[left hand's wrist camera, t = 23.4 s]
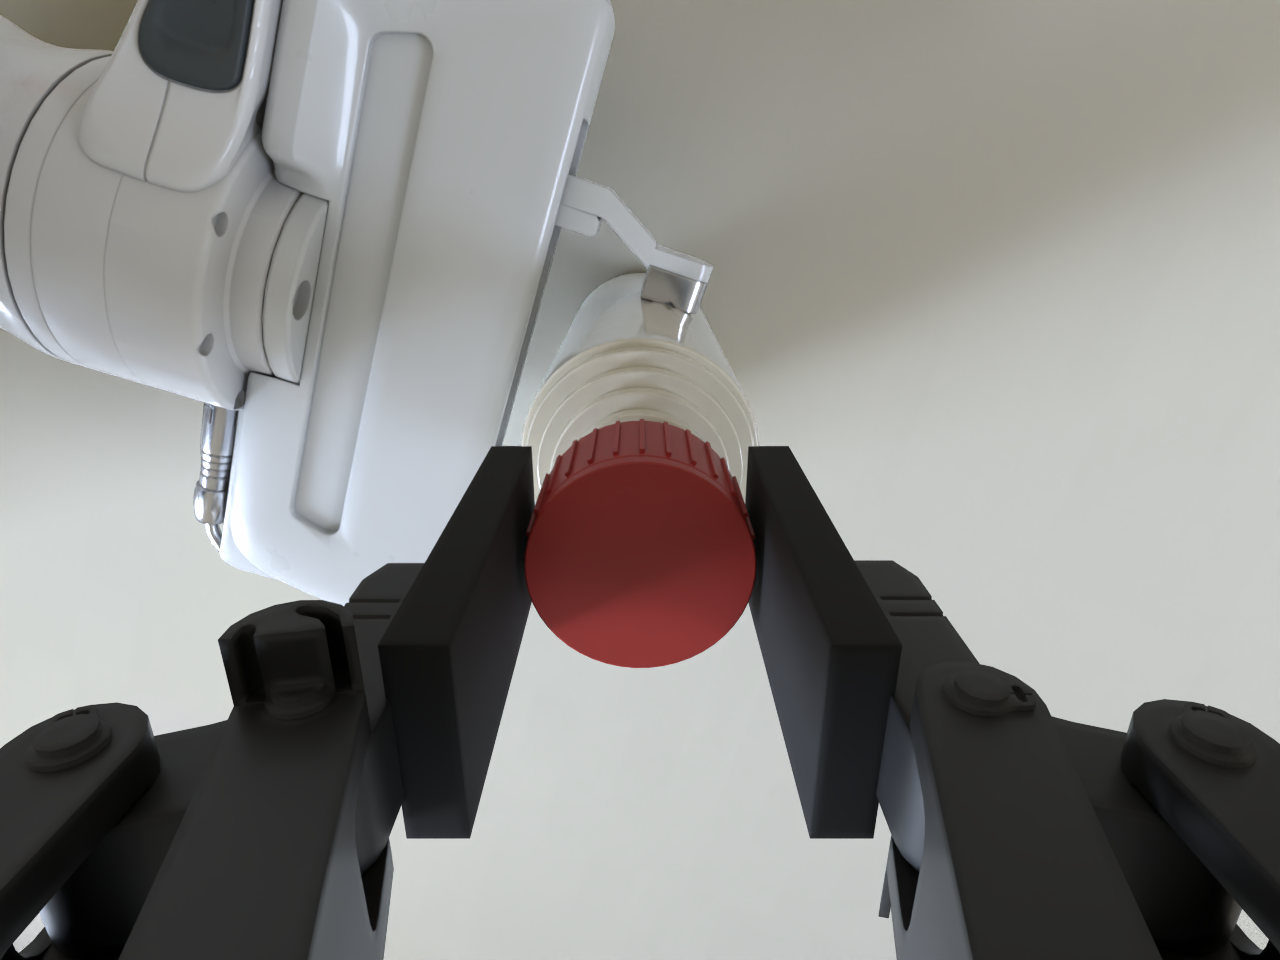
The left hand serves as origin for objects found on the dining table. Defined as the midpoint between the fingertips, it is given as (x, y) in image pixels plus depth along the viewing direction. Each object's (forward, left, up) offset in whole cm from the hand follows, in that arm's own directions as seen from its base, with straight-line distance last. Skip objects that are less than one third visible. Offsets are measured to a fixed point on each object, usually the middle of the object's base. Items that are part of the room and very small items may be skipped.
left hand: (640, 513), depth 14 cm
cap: (0, 0, +2) cm, 2 cm away
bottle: (0, 0, -17) cm, 17 cm away
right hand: (0, -1, -10) cm, 10 cm away
